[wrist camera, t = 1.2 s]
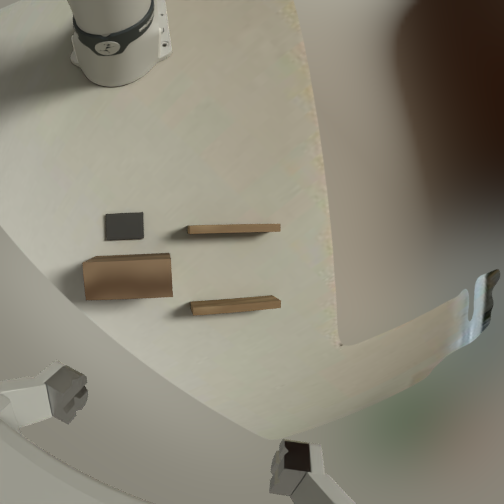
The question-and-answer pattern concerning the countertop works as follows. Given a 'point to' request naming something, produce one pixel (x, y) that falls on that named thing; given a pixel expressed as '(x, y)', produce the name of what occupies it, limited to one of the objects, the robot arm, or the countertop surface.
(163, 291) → the walnut block
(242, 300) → the channel
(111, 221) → the mat
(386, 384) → the countertop surface
